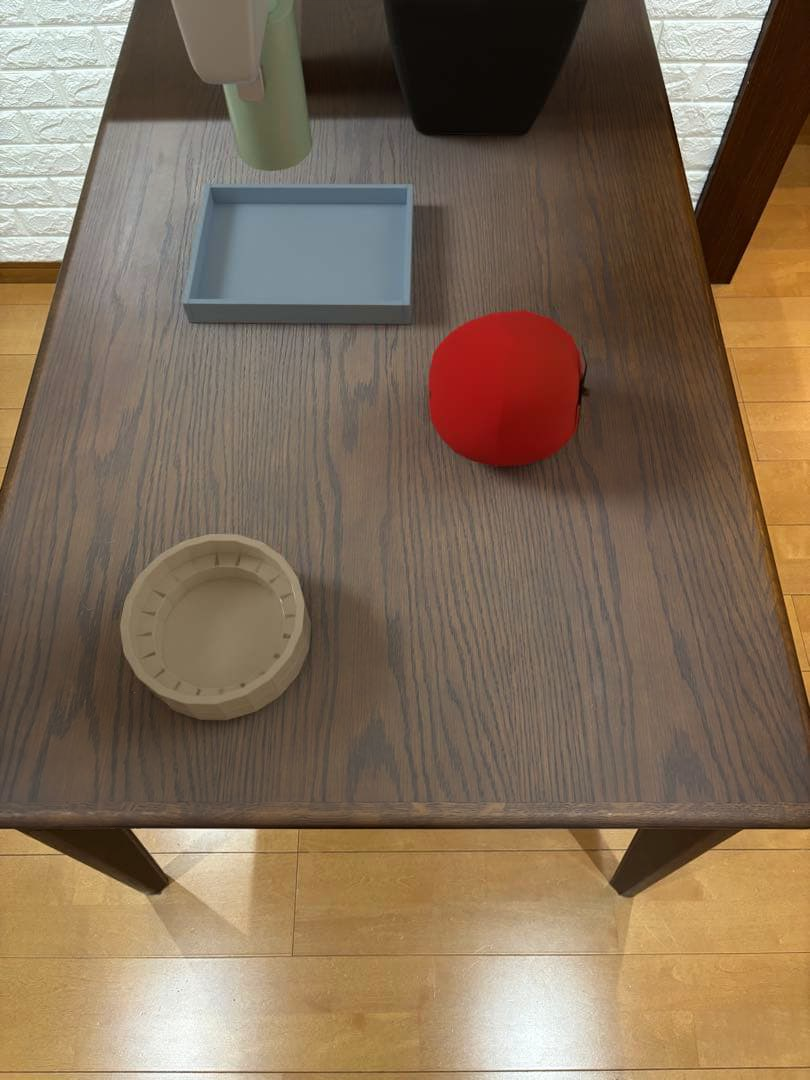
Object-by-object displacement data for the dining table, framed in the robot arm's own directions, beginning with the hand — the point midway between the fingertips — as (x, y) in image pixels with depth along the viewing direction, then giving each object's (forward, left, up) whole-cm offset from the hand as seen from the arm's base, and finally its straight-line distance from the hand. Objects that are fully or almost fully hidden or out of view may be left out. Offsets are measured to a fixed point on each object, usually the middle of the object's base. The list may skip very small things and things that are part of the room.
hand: (258, 63), depth 60 cm
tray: (0, +4, -23) cm, 24 cm away
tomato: (+19, -16, -23) cm, 34 cm away
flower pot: (+17, +29, -23) cm, 41 cm away
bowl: (-3, -36, -23) cm, 43 cm away
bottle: (0, 0, -7) cm, 7 cm away
